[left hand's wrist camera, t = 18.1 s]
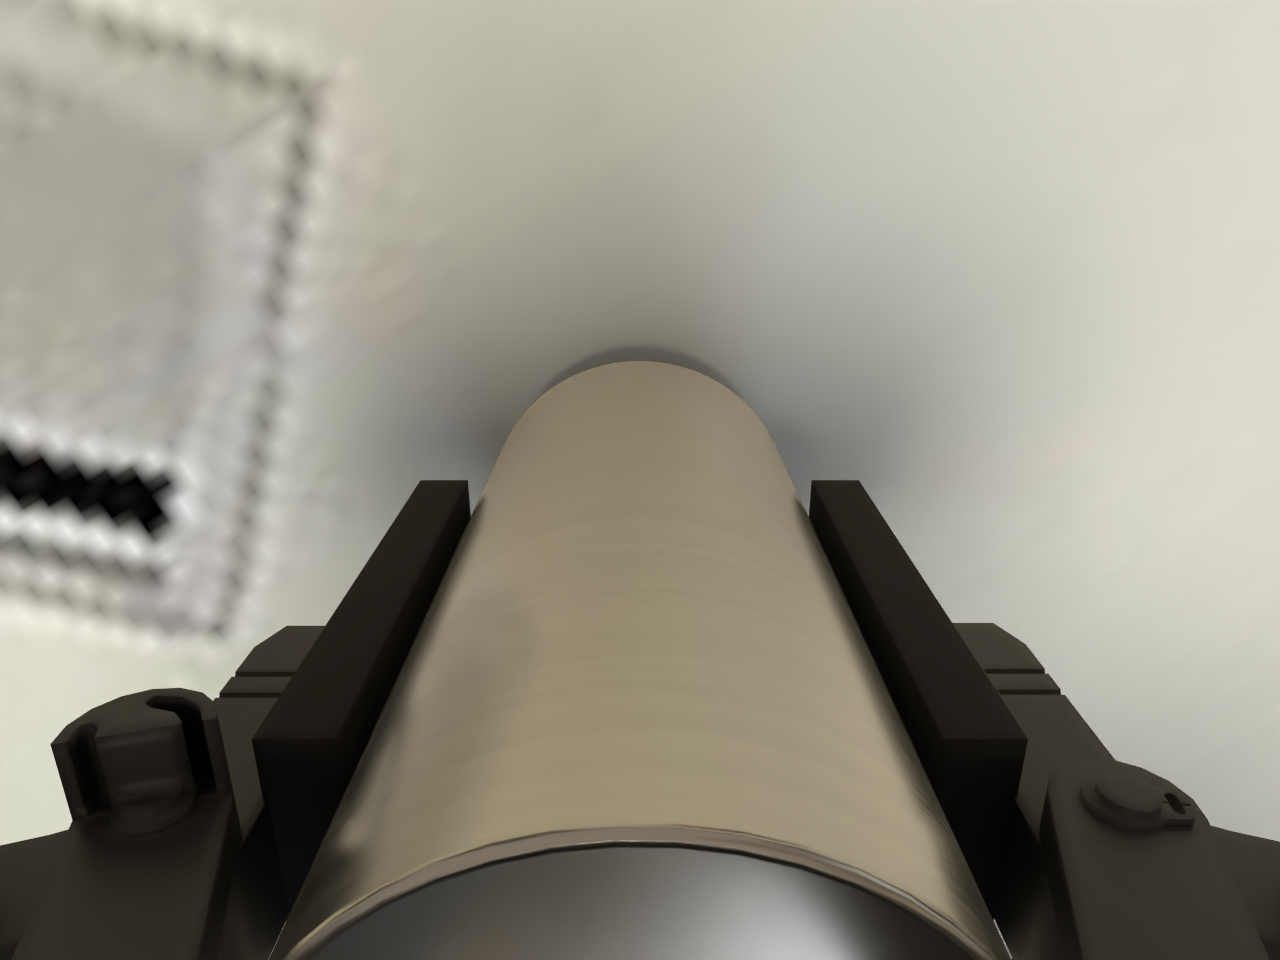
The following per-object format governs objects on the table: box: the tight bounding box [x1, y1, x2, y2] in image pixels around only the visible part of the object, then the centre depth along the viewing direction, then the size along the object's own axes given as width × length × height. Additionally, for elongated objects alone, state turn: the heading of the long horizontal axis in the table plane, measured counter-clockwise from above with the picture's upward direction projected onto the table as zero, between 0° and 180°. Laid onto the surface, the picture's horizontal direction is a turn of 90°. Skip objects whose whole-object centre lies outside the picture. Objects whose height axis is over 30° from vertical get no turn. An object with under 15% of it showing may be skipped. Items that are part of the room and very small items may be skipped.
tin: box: [269, 361, 1011, 960], centre depth 11 cm, size 6×6×11 cm
